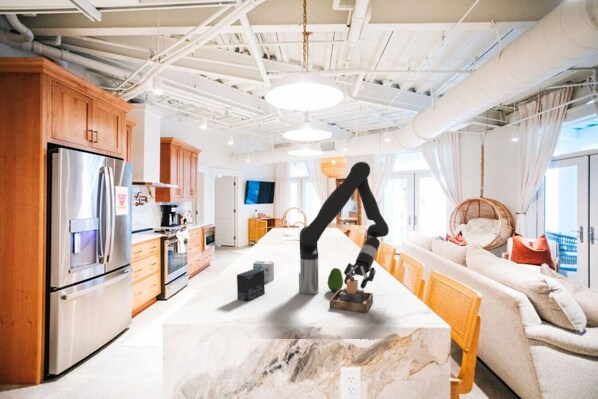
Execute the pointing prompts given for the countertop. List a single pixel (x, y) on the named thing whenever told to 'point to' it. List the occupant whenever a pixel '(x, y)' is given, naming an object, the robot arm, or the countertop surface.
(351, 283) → the plug
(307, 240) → the robot arm
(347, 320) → the countertop surface
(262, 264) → the light bulb box
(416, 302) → the countertop surface
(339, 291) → the walled tray
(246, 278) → the small box
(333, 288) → the avocado
